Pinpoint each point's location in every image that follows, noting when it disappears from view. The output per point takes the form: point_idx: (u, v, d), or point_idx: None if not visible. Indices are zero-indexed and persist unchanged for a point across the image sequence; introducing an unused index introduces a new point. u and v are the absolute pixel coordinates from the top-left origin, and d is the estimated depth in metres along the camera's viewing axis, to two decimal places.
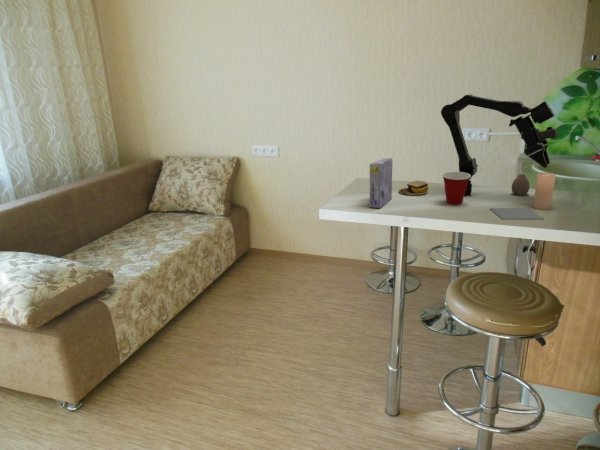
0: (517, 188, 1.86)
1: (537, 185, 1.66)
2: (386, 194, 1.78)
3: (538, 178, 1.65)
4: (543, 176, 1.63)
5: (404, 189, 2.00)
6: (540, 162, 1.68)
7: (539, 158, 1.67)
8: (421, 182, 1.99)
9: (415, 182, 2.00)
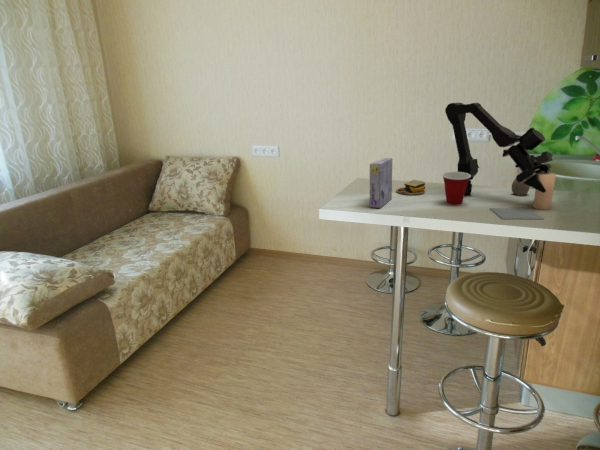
0: (517, 188, 1.86)
1: None
2: (386, 194, 1.78)
3: None
4: (543, 176, 1.63)
5: None
6: (537, 187, 1.64)
7: (535, 183, 1.64)
8: (418, 181, 2.00)
9: (412, 182, 2.01)
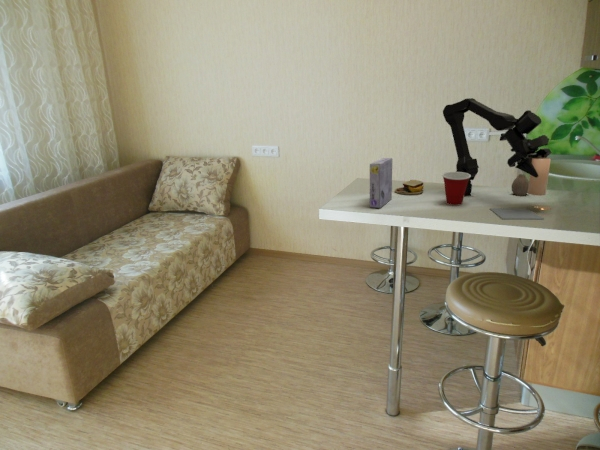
0: (517, 188, 1.86)
1: None
2: (386, 194, 1.78)
3: (532, 162, 1.60)
4: (536, 160, 1.58)
5: None
6: (529, 172, 1.60)
7: (528, 168, 1.60)
8: (416, 181, 2.01)
9: (410, 181, 2.02)
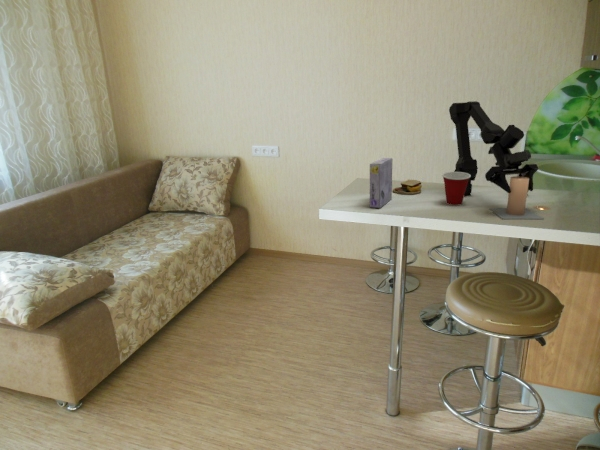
0: None
1: None
2: (386, 194, 1.78)
3: (510, 181, 1.59)
4: (512, 180, 1.57)
5: None
6: (503, 187, 1.58)
7: (502, 183, 1.58)
8: (414, 181, 2.01)
9: (408, 181, 2.02)
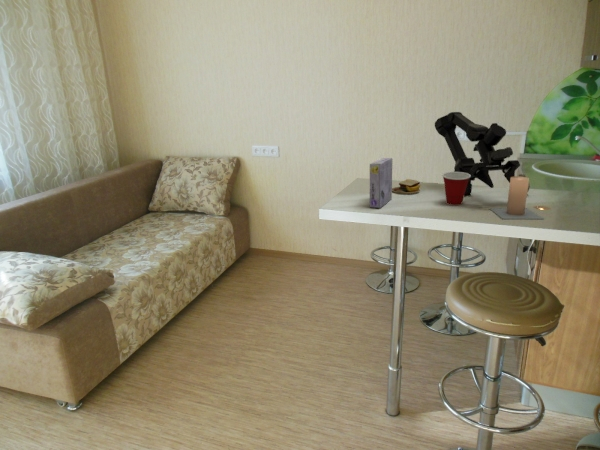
0: None
1: (509, 189, 1.60)
2: (386, 194, 1.78)
3: (510, 181, 1.59)
4: (512, 180, 1.57)
5: None
6: (486, 182, 1.67)
7: (485, 178, 1.67)
8: (412, 181, 2.02)
9: (406, 181, 2.03)
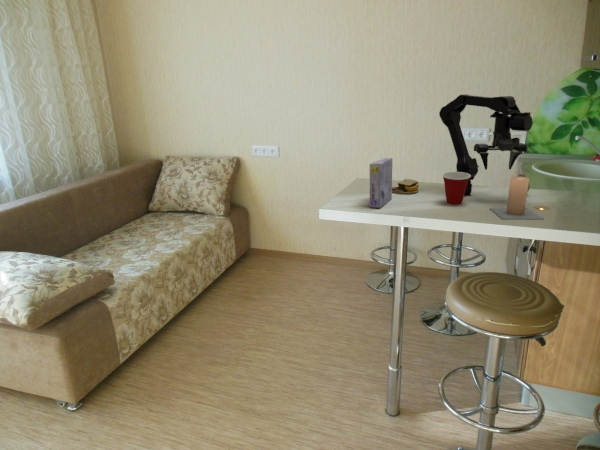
0: None
1: (509, 189, 1.60)
2: (386, 194, 1.78)
3: (510, 181, 1.59)
4: (512, 180, 1.57)
5: None
6: (483, 162, 1.77)
7: (483, 159, 1.76)
8: (411, 180, 2.03)
9: (405, 181, 2.03)
